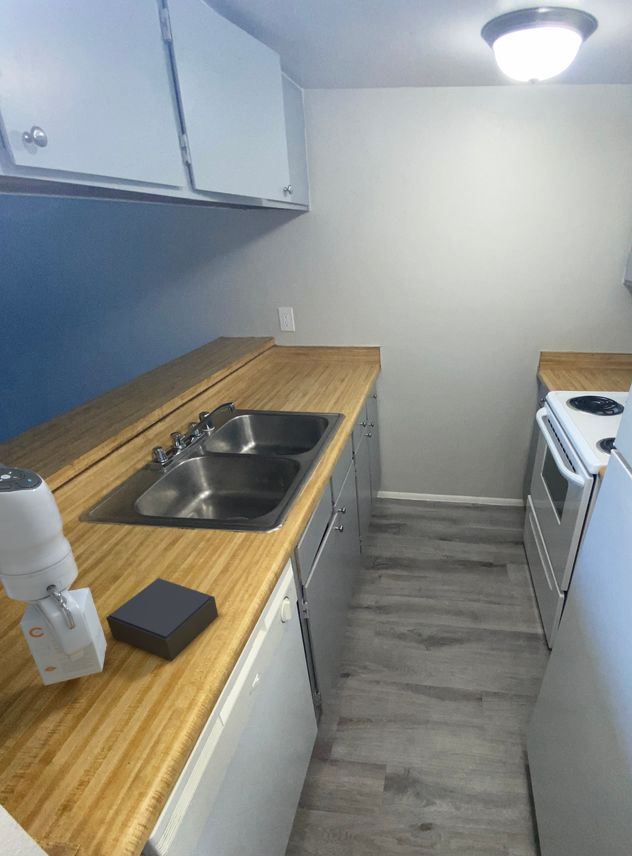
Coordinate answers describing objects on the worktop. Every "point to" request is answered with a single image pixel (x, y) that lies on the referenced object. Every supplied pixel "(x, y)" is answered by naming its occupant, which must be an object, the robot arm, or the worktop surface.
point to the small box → (49, 654)
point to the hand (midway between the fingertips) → (65, 641)
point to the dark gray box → (163, 618)
